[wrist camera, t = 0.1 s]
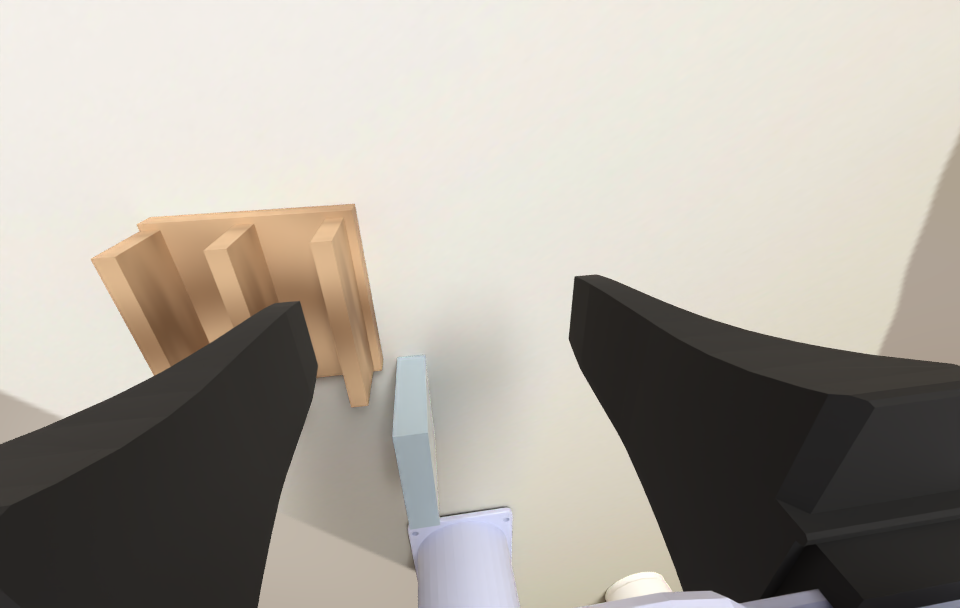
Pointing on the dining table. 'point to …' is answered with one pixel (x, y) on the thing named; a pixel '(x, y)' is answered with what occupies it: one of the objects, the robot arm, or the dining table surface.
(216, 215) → the rack
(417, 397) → the pale blue upright slab
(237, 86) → the dining table surface
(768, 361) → the robot arm
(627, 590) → the foam cup
